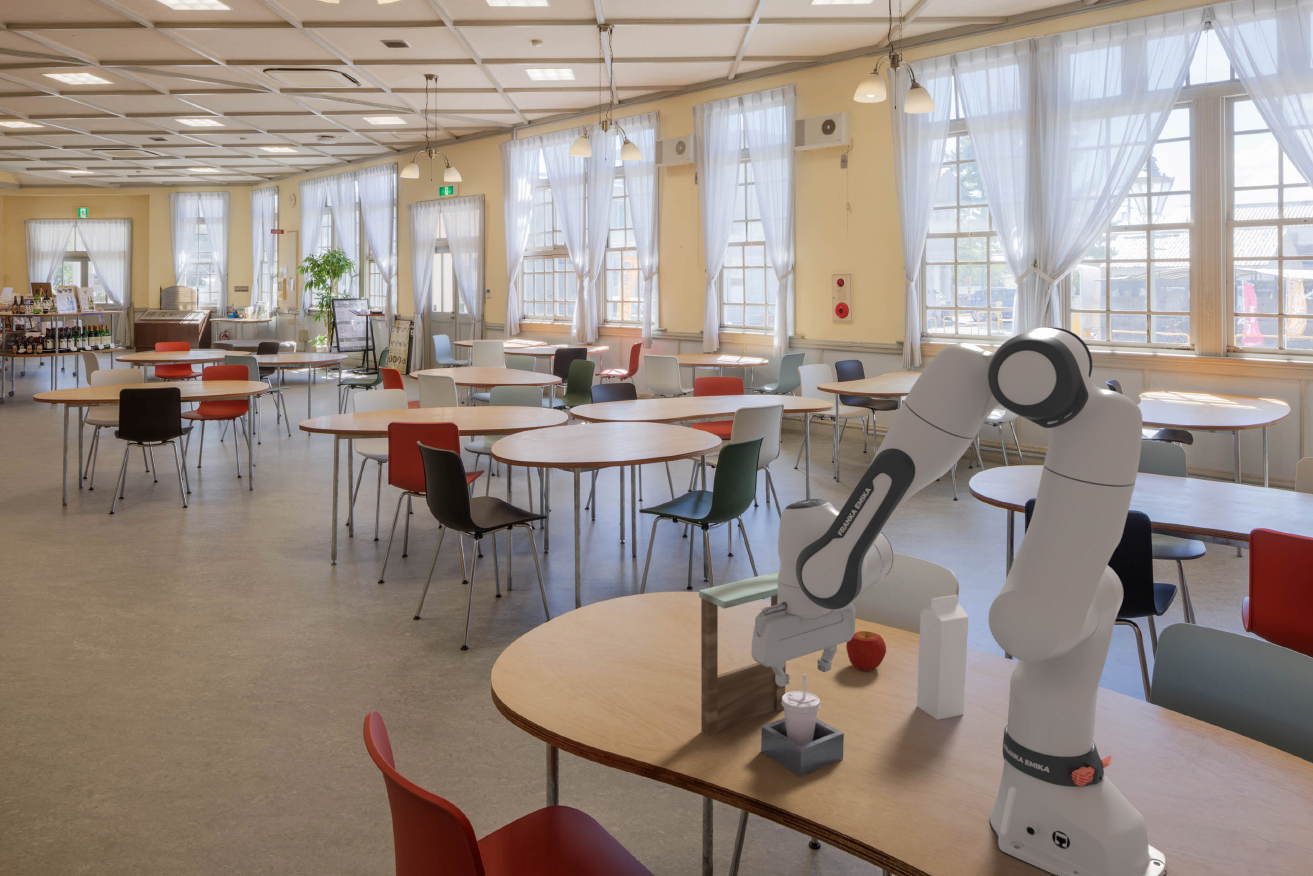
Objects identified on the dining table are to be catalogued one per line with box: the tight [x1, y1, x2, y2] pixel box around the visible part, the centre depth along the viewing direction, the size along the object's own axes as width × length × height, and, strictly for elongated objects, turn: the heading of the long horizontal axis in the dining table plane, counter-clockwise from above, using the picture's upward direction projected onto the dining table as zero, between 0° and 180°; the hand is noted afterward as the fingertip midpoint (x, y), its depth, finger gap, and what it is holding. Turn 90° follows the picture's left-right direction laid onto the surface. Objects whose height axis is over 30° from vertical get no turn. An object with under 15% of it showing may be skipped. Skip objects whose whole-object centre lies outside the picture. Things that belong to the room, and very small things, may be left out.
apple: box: [845, 630, 887, 672], centre depth 179 cm, size 8×8×8 cm
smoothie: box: [781, 673, 821, 746], centre depth 145 cm, size 6×6×14 cm
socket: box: [760, 717, 845, 777], centre depth 145 cm, size 10×10×4 cm
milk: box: [916, 594, 969, 721], centre depth 159 cm, size 6×6×22 cm
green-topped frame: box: [698, 570, 787, 737], centre depth 154 cm, size 7×19×26 cm, turn 124°
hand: (803, 677), depth 143 cm, fingers open, 8 cm apart
